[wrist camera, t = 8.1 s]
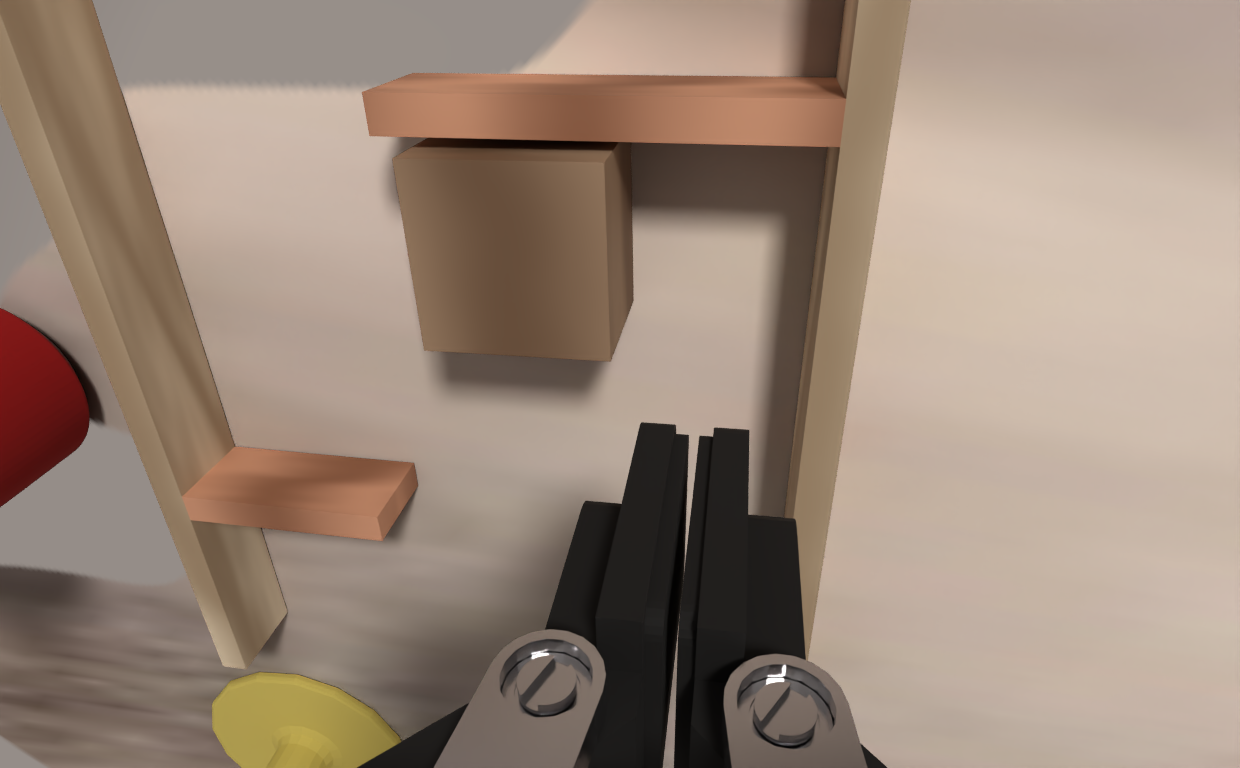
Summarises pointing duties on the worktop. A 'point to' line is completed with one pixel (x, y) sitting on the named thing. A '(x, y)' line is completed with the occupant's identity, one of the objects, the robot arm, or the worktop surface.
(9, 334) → the beverage can
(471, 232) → the block
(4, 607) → the worktop surface
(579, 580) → the robot arm
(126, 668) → the worktop surface
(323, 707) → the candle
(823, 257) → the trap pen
